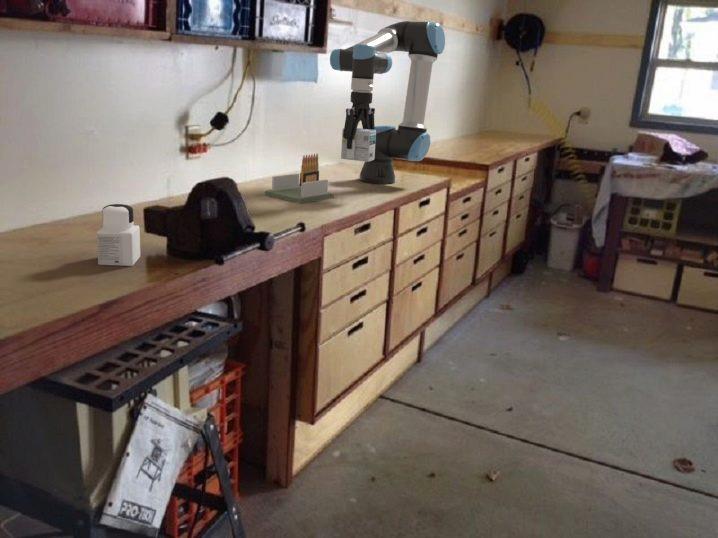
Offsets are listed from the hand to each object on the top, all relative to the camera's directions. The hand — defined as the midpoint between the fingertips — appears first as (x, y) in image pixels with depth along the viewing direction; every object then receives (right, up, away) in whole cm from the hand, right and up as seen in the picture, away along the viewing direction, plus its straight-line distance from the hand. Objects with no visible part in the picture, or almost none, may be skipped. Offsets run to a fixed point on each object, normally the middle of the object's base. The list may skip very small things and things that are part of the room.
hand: (357, 157), depth 239 cm
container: (-55, -38, -84) cm, 107 cm away
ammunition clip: (-19, -7, +27) cm, 34 cm away
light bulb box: (0, -1, 0) cm, 1 cm away
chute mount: (-21, -14, +3) cm, 25 cm away
